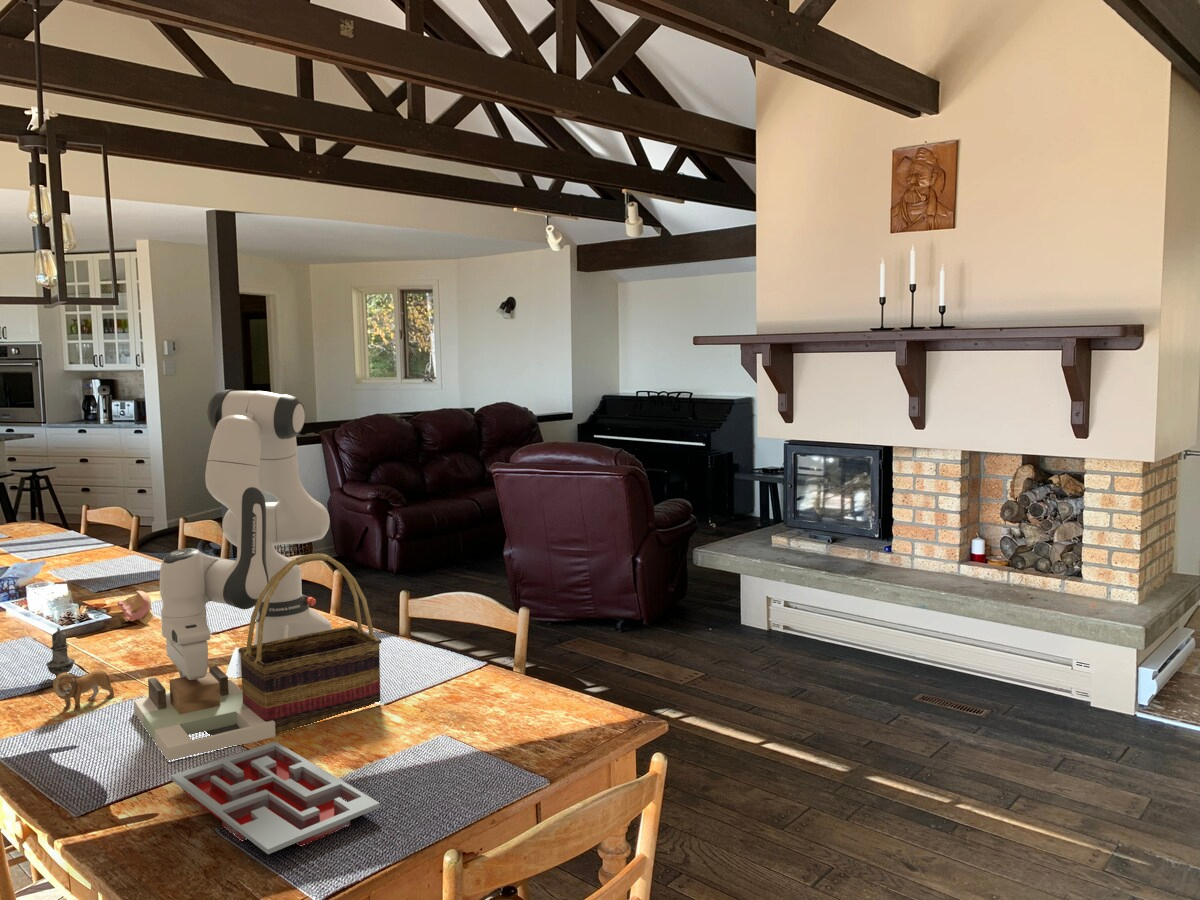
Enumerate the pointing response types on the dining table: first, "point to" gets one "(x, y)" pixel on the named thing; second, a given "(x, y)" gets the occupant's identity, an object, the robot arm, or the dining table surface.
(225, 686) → the dark brown bars
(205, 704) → the tan square block
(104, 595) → the dining table surface
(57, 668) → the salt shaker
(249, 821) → the maze game
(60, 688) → the lion figurine
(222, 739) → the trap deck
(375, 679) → the basket
